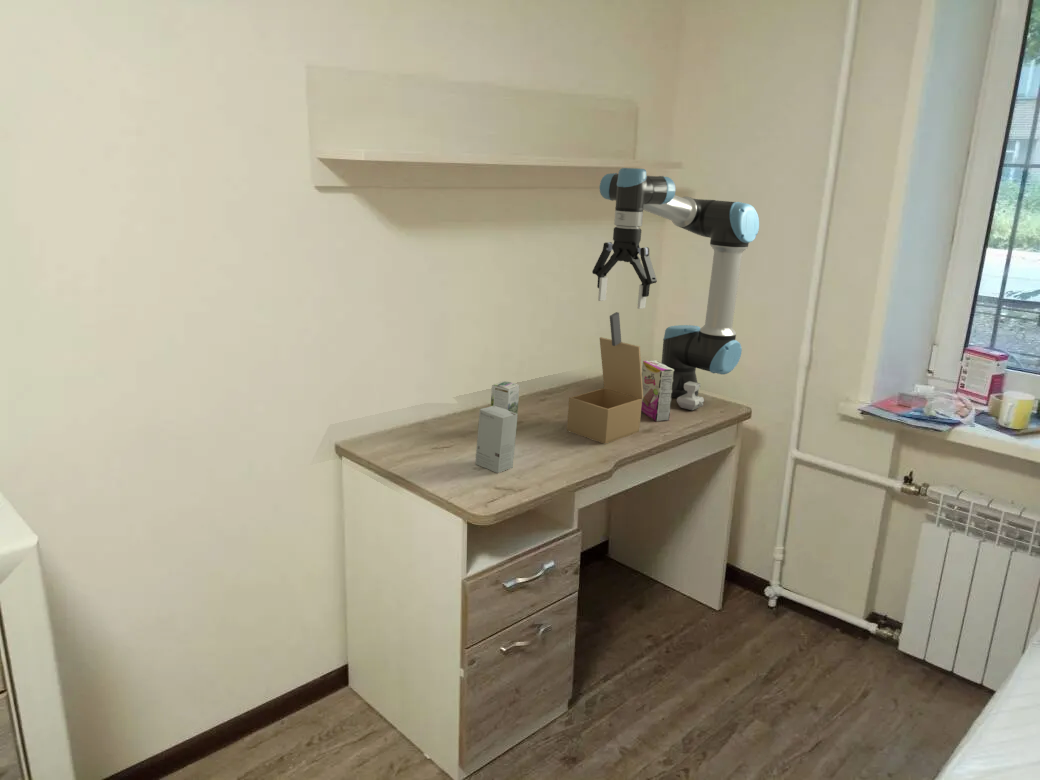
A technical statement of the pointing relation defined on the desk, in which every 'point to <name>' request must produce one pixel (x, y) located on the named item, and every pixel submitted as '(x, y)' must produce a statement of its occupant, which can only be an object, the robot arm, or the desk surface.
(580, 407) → the carton
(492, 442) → the skincare box
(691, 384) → the stamp
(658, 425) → the desk surface
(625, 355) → the flap
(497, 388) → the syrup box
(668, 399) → the candy bar box
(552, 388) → the desk surface
